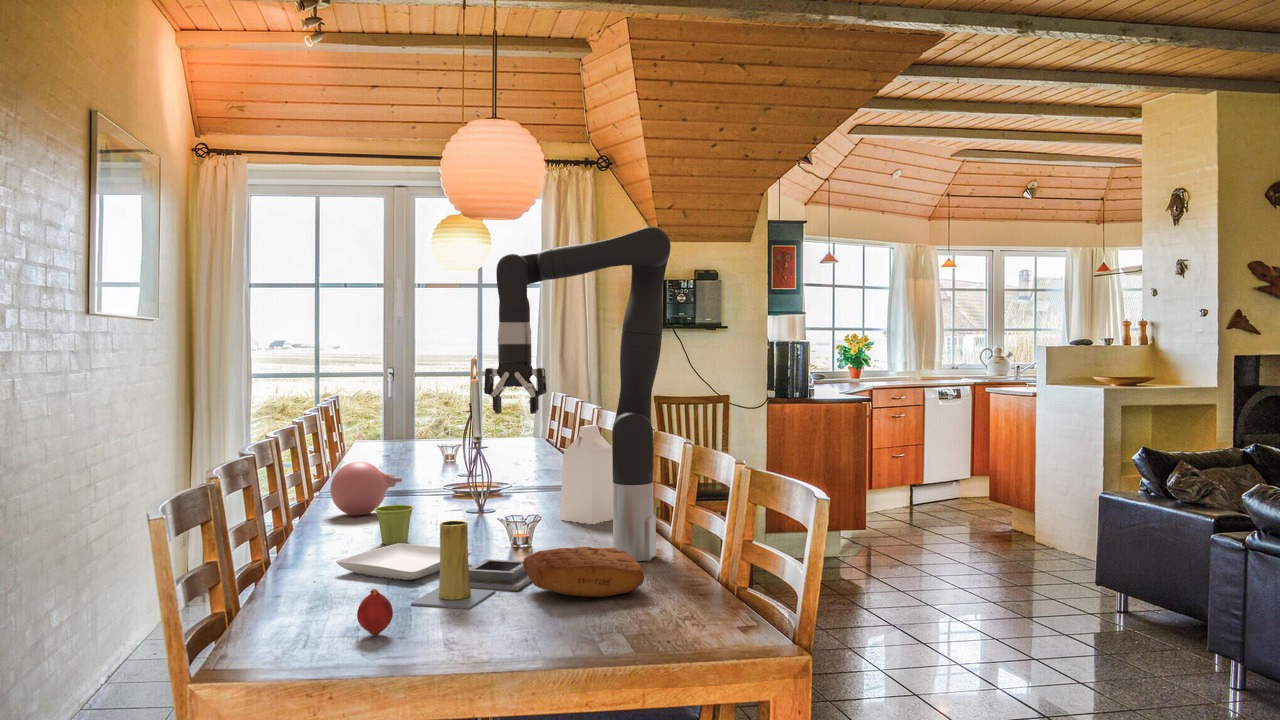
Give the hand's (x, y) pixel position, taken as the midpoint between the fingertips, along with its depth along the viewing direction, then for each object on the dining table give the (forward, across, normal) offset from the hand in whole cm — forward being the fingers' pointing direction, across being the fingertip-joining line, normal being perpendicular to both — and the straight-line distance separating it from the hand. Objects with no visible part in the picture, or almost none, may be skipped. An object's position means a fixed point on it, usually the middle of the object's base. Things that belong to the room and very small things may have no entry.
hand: (515, 413), depth 216 cm
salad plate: (+34, +20, +15) cm, 42 cm away
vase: (+33, -1, +35) cm, 48 cm away
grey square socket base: (+33, -4, +20) cm, 39 cm away
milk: (+33, -2, -49) cm, 59 cm away
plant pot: (+33, +36, -9) cm, 50 cm away
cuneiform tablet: (+33, -24, +25) cm, 48 cm away
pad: (+33, -1, +35) cm, 48 cm away
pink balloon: (+33, +63, -42) cm, 83 cm away
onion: (+33, +2, +59) cm, 68 cm away
